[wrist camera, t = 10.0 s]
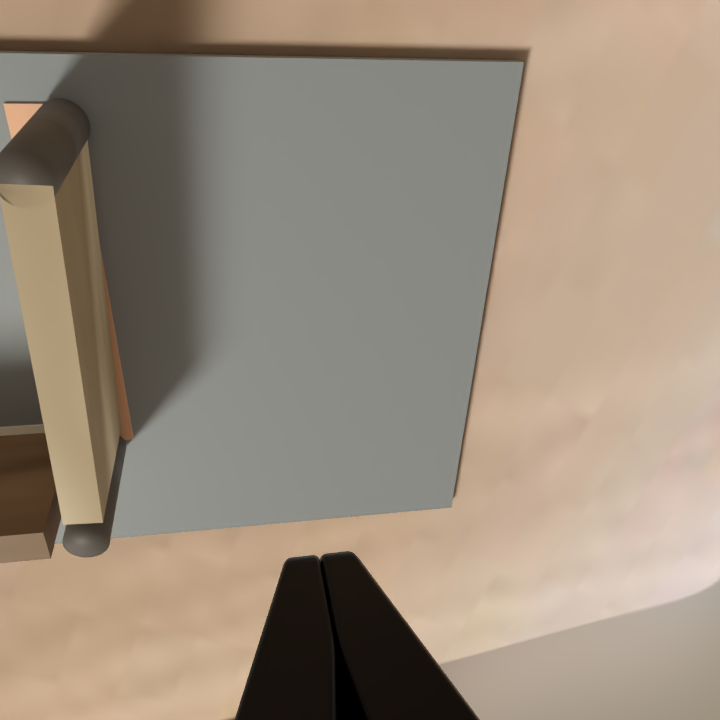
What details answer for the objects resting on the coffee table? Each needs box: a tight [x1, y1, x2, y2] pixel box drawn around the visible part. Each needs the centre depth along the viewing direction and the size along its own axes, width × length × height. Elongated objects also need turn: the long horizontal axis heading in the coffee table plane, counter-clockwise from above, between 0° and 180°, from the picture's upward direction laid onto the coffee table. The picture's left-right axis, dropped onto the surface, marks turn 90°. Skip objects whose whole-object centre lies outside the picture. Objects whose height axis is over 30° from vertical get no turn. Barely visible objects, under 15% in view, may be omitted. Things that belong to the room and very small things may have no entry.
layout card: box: [0, 51, 524, 544], centre depth 20 cm, size 16×23×1 cm
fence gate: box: [0, 98, 126, 557], centre depth 18 cm, size 1×11×4 cm, turn 174°
